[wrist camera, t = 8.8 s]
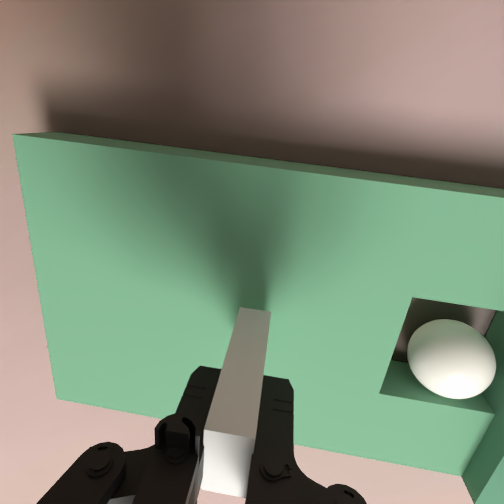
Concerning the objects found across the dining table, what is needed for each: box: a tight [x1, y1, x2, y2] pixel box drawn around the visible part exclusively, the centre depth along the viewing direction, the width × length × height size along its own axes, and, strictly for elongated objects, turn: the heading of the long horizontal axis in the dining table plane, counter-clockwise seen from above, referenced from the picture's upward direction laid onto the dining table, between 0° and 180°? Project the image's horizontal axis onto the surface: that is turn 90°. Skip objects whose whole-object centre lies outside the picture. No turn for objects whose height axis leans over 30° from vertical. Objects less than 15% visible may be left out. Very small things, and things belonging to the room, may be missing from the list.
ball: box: [407, 319, 496, 399], centre depth 17 cm, size 4×4×4 cm
